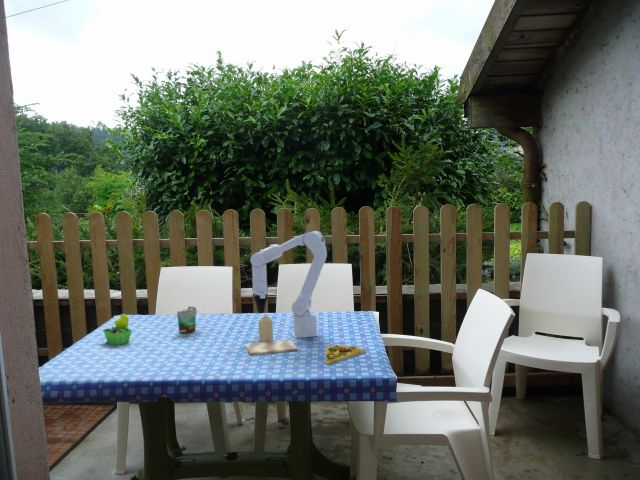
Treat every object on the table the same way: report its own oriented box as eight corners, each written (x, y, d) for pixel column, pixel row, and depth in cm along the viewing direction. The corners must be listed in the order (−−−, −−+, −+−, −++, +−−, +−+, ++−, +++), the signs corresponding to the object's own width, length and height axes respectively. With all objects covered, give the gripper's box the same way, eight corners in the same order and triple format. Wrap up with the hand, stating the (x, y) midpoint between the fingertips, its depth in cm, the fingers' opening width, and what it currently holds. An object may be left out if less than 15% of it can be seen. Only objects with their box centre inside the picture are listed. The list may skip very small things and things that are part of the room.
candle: (259, 339, 230) (258, 315, 229) (273, 339, 230) (272, 315, 229) (259, 343, 224) (258, 318, 224) (273, 342, 225) (272, 318, 224)
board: (290, 341, 225) (290, 339, 225) (297, 350, 212) (297, 348, 212) (245, 346, 221) (245, 344, 221) (249, 355, 208) (249, 353, 208)
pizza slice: (367, 353, 209) (366, 345, 209) (347, 369, 190) (347, 360, 190) (328, 349, 215) (328, 341, 215) (306, 364, 196) (305, 356, 196)
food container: (191, 335, 241) (190, 312, 241) (177, 334, 243) (176, 311, 242) (202, 328, 253) (201, 306, 253) (189, 328, 255) (188, 306, 254)
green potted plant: (102, 341, 234) (101, 315, 233) (122, 337, 240) (121, 311, 239) (115, 346, 226) (114, 318, 225) (136, 341, 232) (134, 314, 231)
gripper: (248, 279, 243) (249, 310, 244) (252, 283, 229) (253, 316, 230) (264, 278, 245) (265, 308, 246) (269, 282, 231) (270, 315, 232)
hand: (260, 312), depth 238 cm, fingers closed
